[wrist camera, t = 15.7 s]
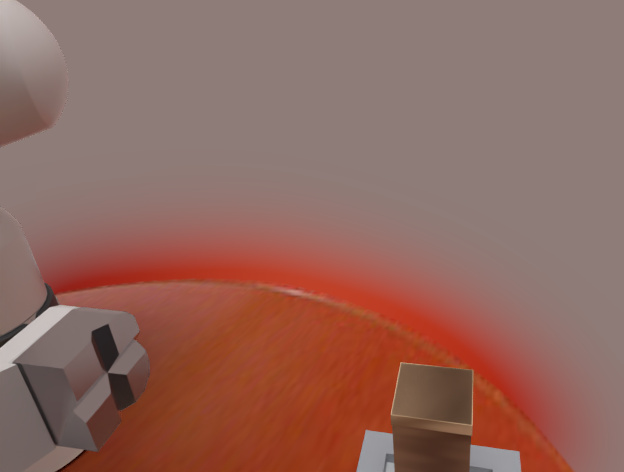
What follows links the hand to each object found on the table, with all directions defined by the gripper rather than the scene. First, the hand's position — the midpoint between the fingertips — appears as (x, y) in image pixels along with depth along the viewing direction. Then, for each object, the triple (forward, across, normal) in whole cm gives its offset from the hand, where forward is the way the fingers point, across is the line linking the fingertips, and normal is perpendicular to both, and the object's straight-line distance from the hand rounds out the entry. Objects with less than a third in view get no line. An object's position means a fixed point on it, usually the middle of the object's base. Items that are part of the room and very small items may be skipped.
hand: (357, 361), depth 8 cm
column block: (+18, 0, +30) cm, 35 cm away
